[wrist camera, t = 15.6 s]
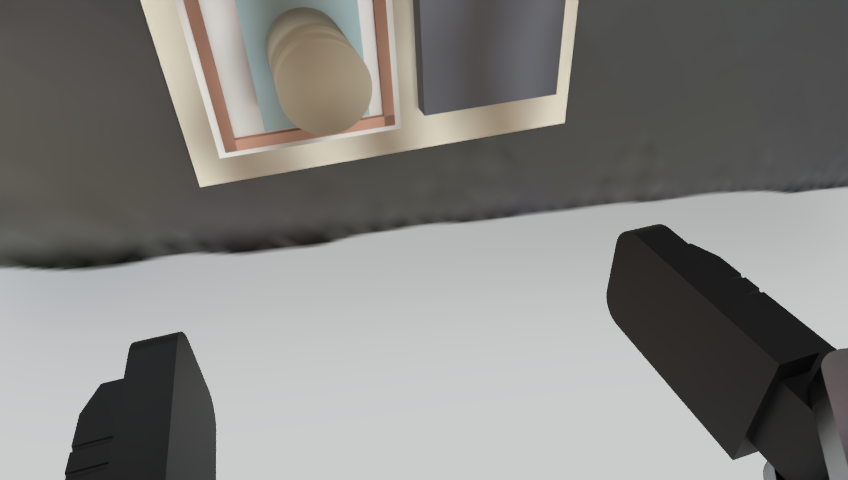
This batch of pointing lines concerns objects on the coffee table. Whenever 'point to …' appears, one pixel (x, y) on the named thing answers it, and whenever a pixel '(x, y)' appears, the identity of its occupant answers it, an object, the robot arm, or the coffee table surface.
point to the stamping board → (390, 73)
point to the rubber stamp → (306, 63)
